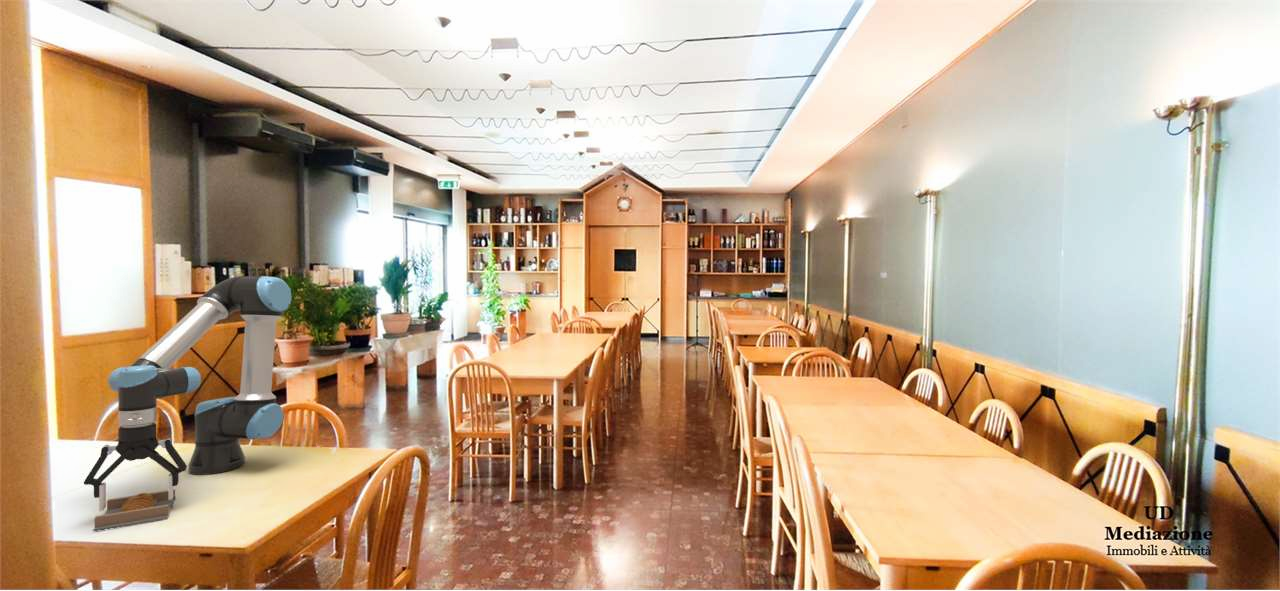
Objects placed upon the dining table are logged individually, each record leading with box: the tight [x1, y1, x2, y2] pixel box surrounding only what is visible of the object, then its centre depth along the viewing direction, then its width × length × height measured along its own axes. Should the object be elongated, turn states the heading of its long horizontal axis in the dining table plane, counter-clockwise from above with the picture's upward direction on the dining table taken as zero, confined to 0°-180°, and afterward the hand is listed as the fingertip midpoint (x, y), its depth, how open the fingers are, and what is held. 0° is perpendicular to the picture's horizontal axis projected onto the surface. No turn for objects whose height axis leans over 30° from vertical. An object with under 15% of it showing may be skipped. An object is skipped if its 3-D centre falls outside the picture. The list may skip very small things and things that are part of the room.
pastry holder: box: [92, 488, 177, 532], centre depth 147 cm, size 14×17×3 cm
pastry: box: [121, 492, 157, 512], centre depth 147 cm, size 9×7×4 cm
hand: (137, 503), depth 147 cm, fingers open, 13 cm apart
